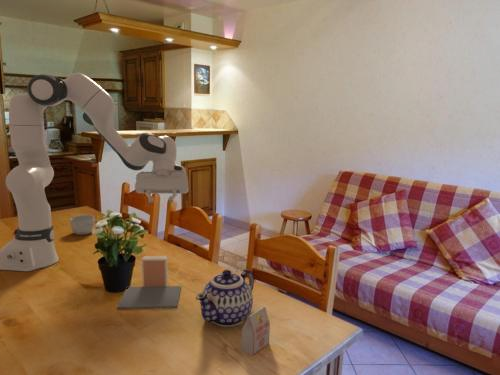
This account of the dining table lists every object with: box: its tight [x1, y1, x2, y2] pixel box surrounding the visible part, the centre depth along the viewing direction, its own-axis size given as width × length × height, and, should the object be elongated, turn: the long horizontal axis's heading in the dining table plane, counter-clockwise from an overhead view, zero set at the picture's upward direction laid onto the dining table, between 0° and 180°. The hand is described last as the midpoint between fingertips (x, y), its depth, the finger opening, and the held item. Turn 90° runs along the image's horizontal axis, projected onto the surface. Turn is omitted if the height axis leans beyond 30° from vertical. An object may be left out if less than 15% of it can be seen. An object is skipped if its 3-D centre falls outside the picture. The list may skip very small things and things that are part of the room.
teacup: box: [69, 213, 96, 236], centre depth 191 cm, size 14×11×8 cm
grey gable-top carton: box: [241, 306, 271, 357], centre depth 101 cm, size 4×7×10 cm, turn 140°
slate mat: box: [116, 285, 182, 310], centre depth 127 cm, size 18×14×1 cm
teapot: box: [195, 268, 255, 328], centre depth 114 cm, size 25×15×15 cm, turn 141°
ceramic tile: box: [141, 255, 169, 287], centre depth 135 cm, size 8×3×10 cm, turn 95°
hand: (160, 201), depth 148 cm, fingers open, 6 cm apart
